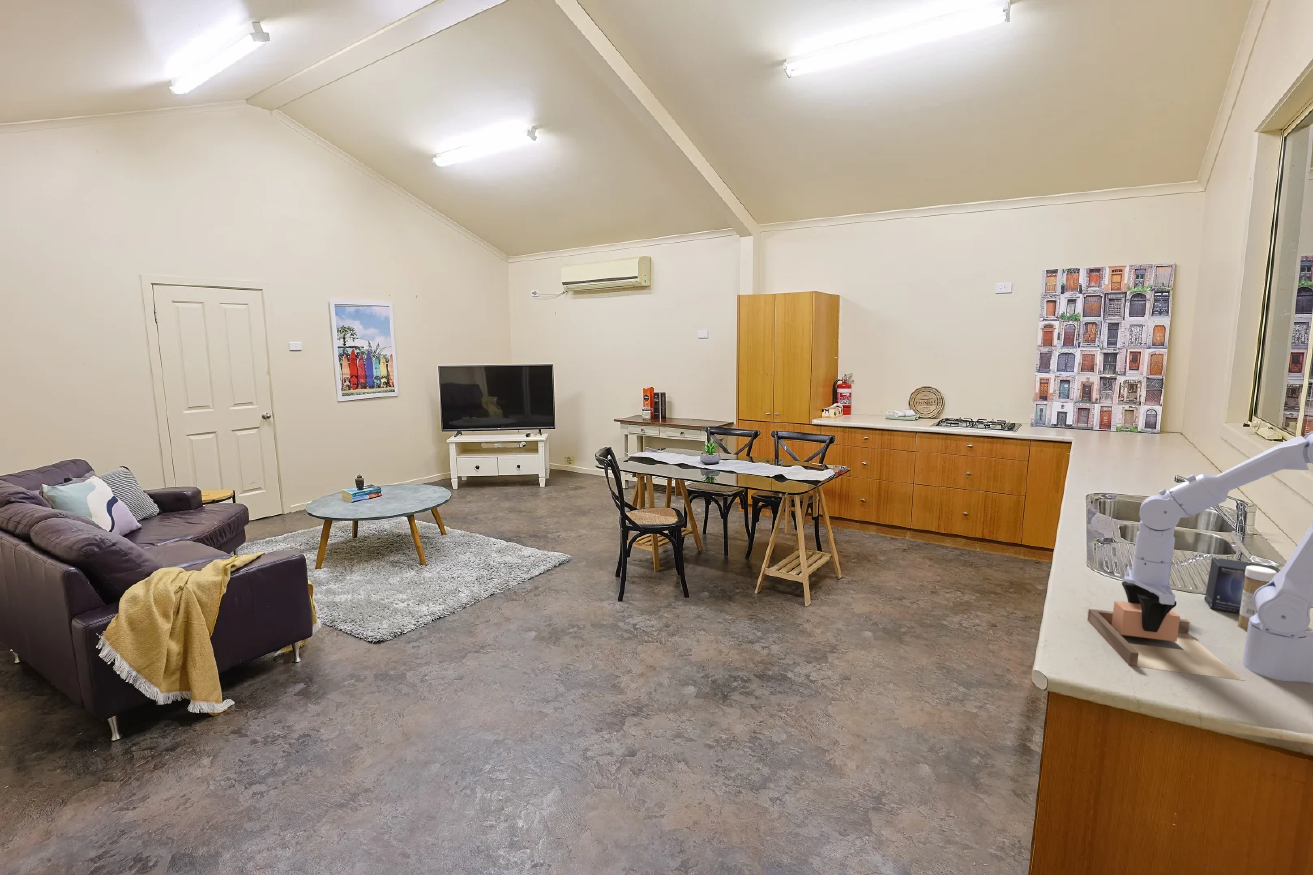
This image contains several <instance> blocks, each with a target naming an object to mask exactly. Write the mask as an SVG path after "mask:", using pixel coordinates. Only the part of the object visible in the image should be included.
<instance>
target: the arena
mask: <svg viewBox="0 0 1313 875" xmlns="http://www.w3.org/2000/svg"><path fill="white" fill-rule="evenodd" d="M1112 617H1113V610H1111V611H1110V610H1102V609H1093V608H1089V609H1088V612H1087V622H1088V623H1089V624H1090V625H1091V626H1092V627H1093V629H1094V630H1095V631H1096V632H1097V633H1098V634H1099V635H1100V636H1101V637H1102V638H1103V639H1104V640H1105V642H1107V644H1108V645H1109V646H1110V647H1111V649H1113V650H1114V651H1115V653H1116V654H1118V656H1119V657H1120V658H1121V659H1122V660H1123V661H1124V662H1125V663H1126V664H1127V665H1128V666H1129V667H1136V668H1143V669H1152V670H1158V671H1159V670H1160V671H1166V672H1167V671H1168V672H1173V673H1174V672H1177V673H1183V674H1191V675H1197V676H1205V677H1215V678H1222V679H1229V680H1236V681H1245V679H1244V678H1243V677H1241V676H1240V675H1239V674H1238V673H1236V671H1234V670H1233V669H1231V668H1230V667H1229V666H1228V665H1227V664H1225V663H1224V662H1223V661H1222V660H1220V658H1219V657H1217V656H1216V655H1214V654H1213V653H1212V652H1211V651H1210V650H1208V648H1206V647H1205V646H1204V645H1202V644H1201V643H1200V642H1198V641H1197V640H1196V639H1195V638H1194V637H1192V636H1191V635H1190V634H1189V630H1190V623H1191V622H1190V620H1188V619H1183V618H1180V621H1179V628H1178V635H1177V642H1176V641H1168V640H1160V639H1152V638H1144V637H1136V636H1128V635H1121V634H1120V633H1119V632H1118V631H1117V630H1116V629H1115V628H1114V627H1113V626H1112Z"/></svg>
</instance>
